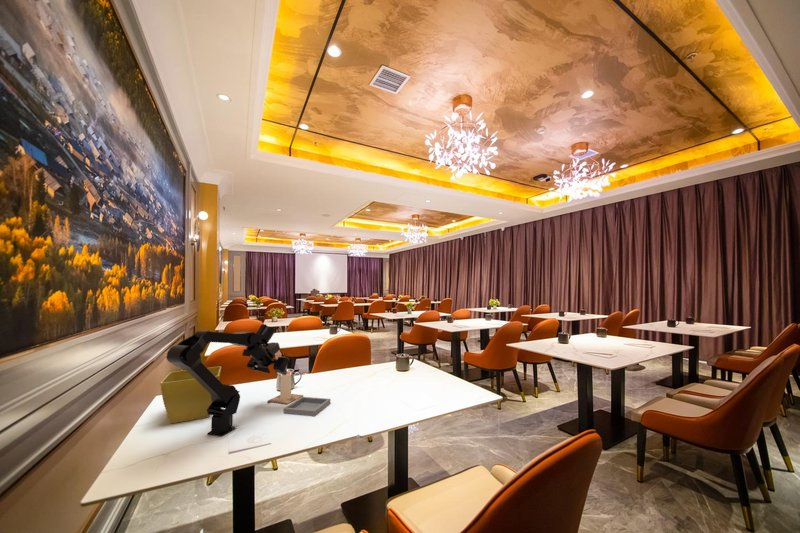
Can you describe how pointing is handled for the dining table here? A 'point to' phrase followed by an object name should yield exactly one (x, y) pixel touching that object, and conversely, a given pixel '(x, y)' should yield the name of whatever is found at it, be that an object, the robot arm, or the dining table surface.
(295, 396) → the pad
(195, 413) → the flower pot
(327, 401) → the bin
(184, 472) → the dining table surface
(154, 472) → the dining table surface
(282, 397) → the carton
